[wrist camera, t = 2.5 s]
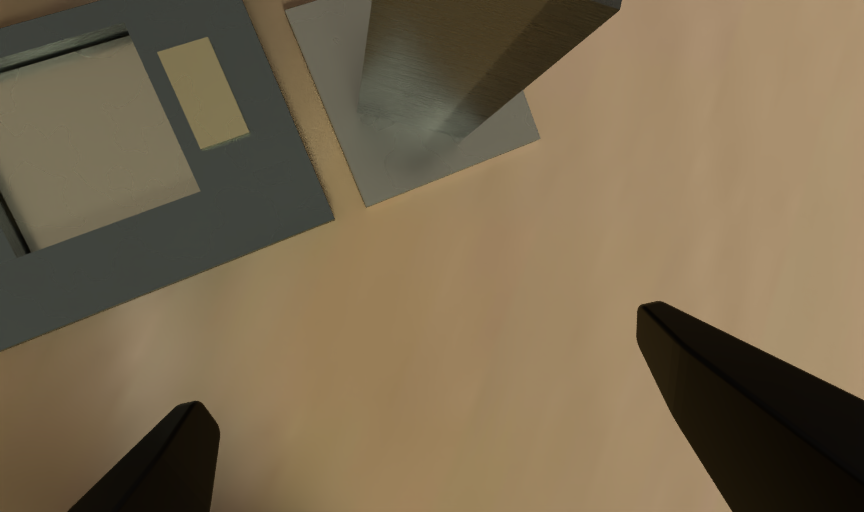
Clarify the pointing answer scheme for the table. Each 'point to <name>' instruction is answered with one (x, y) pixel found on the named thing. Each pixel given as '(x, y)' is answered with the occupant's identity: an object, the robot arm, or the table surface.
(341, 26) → the grey square plate
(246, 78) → the rail plate
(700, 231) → the table surface
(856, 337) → the table surface
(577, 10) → the grey clip
